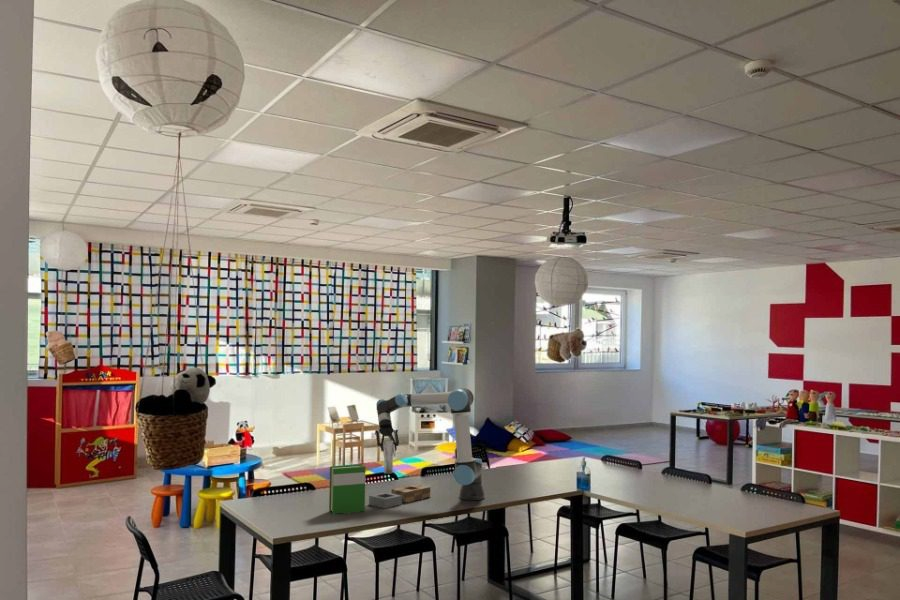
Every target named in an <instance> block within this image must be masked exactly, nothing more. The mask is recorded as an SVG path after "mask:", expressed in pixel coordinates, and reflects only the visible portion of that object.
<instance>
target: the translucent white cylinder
mask: <svg viewBox="0 0 900 600" xmlns="http://www.w3.org/2000/svg"><path fill="white" fill-rule="evenodd" d="M383 445H385V451H386V456H385V457H384V456H383V474H393V473H394V471H393V469H394V468H393V467H394V455H393V440H390V439H387V440H386V439H384V442H383Z"/></svg>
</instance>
